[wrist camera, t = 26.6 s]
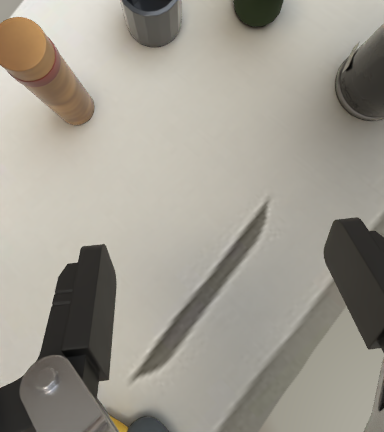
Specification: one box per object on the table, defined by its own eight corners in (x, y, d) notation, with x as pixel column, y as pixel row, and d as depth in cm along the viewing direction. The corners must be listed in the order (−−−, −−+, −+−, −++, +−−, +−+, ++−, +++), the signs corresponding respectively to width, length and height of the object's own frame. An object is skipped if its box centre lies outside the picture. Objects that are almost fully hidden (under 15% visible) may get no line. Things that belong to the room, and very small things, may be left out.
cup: (166, -15, 43) (163, -58, 36) (190, 33, 43) (192, -1, 36) (117, 7, 43) (106, -32, 36) (141, 56, 43) (134, 26, 36)
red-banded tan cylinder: (85, 83, 42) (32, 6, 27) (101, 116, 42) (56, 57, 27) (51, 98, 42) (-21, 30, 27) (67, 131, 42) (4, 81, 27)
